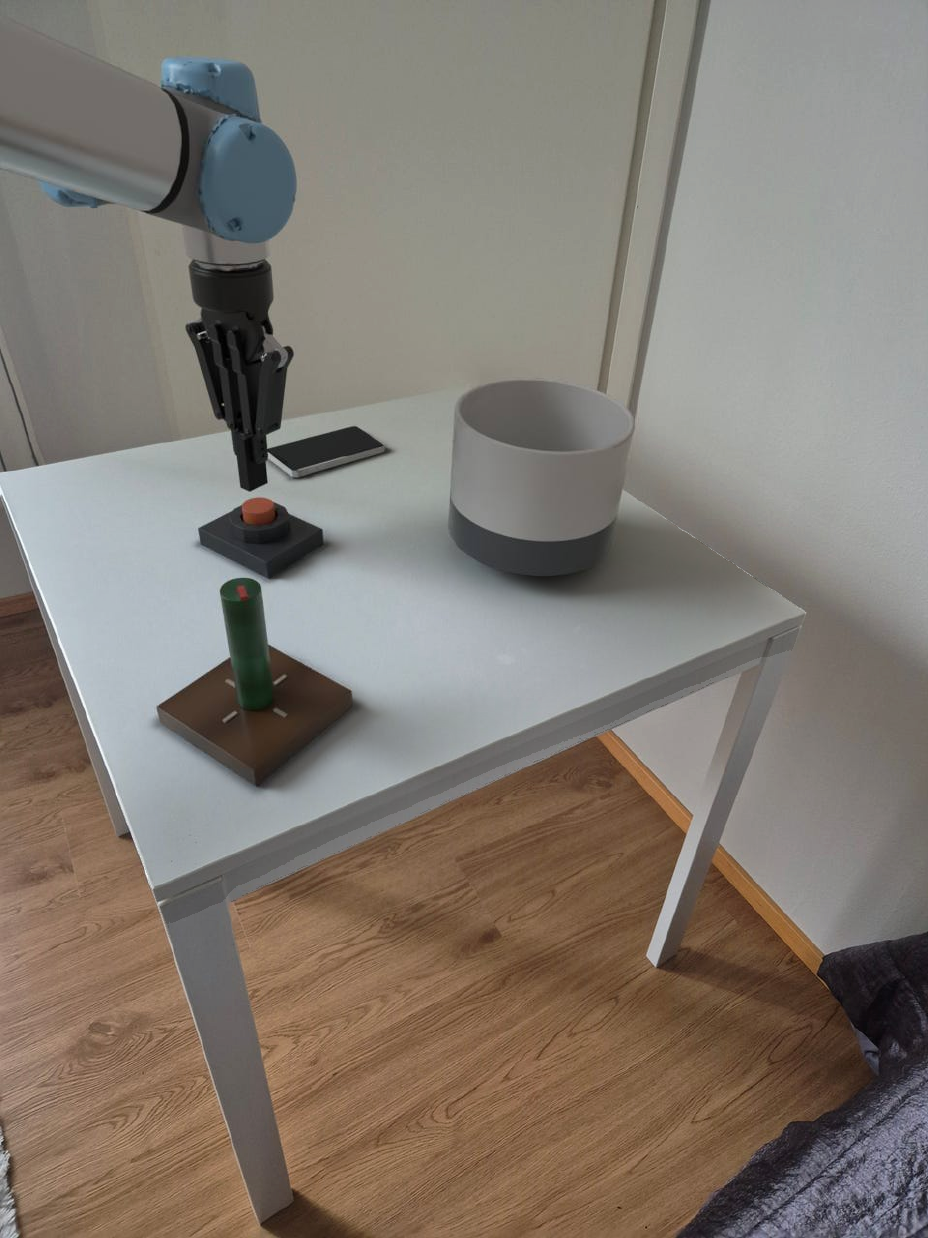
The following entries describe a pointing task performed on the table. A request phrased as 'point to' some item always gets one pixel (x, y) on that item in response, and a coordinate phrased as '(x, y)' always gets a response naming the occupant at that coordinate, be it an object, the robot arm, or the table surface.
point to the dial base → (255, 716)
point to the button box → (262, 540)
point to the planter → (537, 474)
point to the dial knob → (247, 642)
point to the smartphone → (324, 451)
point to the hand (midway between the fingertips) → (254, 485)
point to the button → (258, 511)
